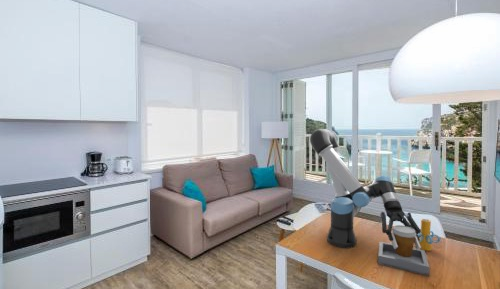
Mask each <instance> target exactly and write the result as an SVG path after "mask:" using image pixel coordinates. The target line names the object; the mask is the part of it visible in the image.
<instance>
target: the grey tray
mask: <svg viewBox="0 0 500 289" xmlns="http://www.w3.org/2000/svg"><path fill="white" fill-rule="evenodd" d="M378 243H379V246H378V247H379V248H378V259H377V260H378V261H377V263H378V265H382V266H385V267H388V268H389V267H390V268H393V269H398V270H402V271H407V272H410V273H415V274H418V275H422V276H428V277H430V265H429V262H428V261H429V260H428V258H427V254H426V251H425V250H422V249H419V250H417V249H416V247H415V248H414V247H413V251H412V256H411V257H402V256H400V255H398V254H396V250H395V249H394V247H393V244H392V243H389V242H385V241H379V242H378Z"/></svg>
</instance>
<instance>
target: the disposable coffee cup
mask: <svg viewBox="0 0 500 289" xmlns="http://www.w3.org/2000/svg"><path fill="white" fill-rule="evenodd" d="M391 232H392V233H394V236H395V239H396V242H397V245H398V247H397V248H396V249H395V250H396V254H398V255H400V256H402V257H411V256H412V251H413V248H414V246H415V244H414V239H415V236H416V232H415V230H414V229H413V228H411V227H407V226H405V225H394V226H392V231H391Z"/></svg>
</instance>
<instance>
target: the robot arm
mask: <svg viewBox="0 0 500 289" xmlns="http://www.w3.org/2000/svg"><path fill="white" fill-rule="evenodd" d="M338 140H339V139H338V135H337V133H336V132H335V131H334V130H332V129H328V128H325V129H322V128H320V129H318V128H317V129H316V130H314V131H313V132H312V133H311V135H310V136H309V143H310V145H311V147H312V149H313V150H314V152H315V153H316V154H317V155H318V156H319V157H320V156H321V158H322V159H323V160H324V162H325V163H326V167H327V169H328V170H327V171H328V173H329V176H330V177H331V178H330V179H331V181H332V184H333V186H334V189H335V192H336V193H335V194H334V197H335V198H332V200H331V202H330V203H331V204H330V227H329V230H328V233H327V236H326V241H327V242H328V243H329V244H331V245H332V246H334V247H337V248H343V249H349V248H351V249H352V248H354V247H355V246H357V237H356V234H355V231H354V218H355V217H356V215H358V214H359V213H360V211H361V209H362V208H365V207H366V206H368V205H369V204H370V202H371V201H372V200H374V199H376V198H379V197H380V199H381V201H382V204H383V207H384V210H385V212H384V211H382V212H381V213H380V214H379V215H380V218H381V229H382V230H381V231H382V233H383V234H386V235H387V237H388V239H389V241H390V242H391V244H393V247H394V249H396V248H397V247H398V245H397V242H396V239H395V236H394V233H393V231H392V229H393V227H394V226H393V225H394V222H400V223H401V224H403V226H407V227H411V228H413V229H414V230H415V232H416V236H415V239H414V246H415V249H417V250H419V249H420V248H421V246H420V244H419V241H420V239H419V237H418V234H419V233H420V232H421V230H420V229H421V228H420V227H419V226H418V224H417V223H416V221H415V220H414V218H413V216H412V214H411V212H405V211H403V207H402V204H401V202H400V199H399V197H398V194H397V193H396V190H395V187H394V183H393V182H392V180H391V178H390V176H388V175H384V174H383V175H380V176H377V177H376V178H375V182H374V183H371V184H369V185H366V186H363V185H362V183H361V182H360V181H359V180H358V179H357V178H356V176H355V175H354V174H353V172H352V171H351V170H350V168H348V166H347V165H346V163H345V162H344V161H343V159H342V158H341V157H340V154H339V147H340V146H339V144H338ZM387 217H388V218H389V221H388V225H387ZM420 250H421V249H420Z"/></svg>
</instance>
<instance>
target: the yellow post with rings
mask: <svg viewBox="0 0 500 289" xmlns="http://www.w3.org/2000/svg"><path fill="white" fill-rule="evenodd" d="M431 226H432V220H430V219H427V218H421V219H420V228H419V229H420V230H421V232H420V233H419V234H418V237H419V239H420V241H419V244H420V246H421V248H420V250H425V252H430V251H432V250H433V243H434V244H437V243H440V241H441V238H440V236H439V235H437V234H434V232H433V230H431ZM434 237H436V239H437V240H433V238H434Z"/></svg>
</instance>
